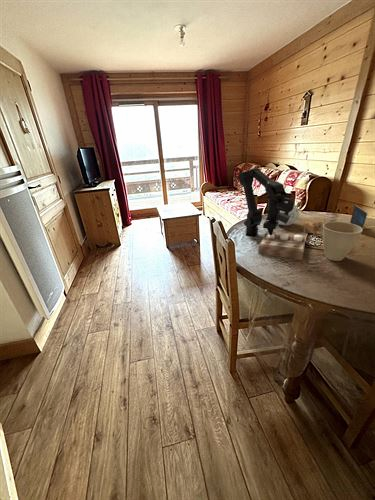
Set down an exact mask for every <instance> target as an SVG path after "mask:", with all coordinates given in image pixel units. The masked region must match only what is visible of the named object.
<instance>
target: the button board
mask: <svg viewBox="0 0 375 500" xmlns="http://www.w3.org/2000/svg"><path fill="white" fill-rule="evenodd" d="M281 233H285V232H282V231H275V230H273V233H272V235H275V239H273V238H266V236H267V235H268V234H269V232H268V230H266V231H265V233H264V235H263V237H262V238H261V241H260V243H259V244H258V252H257V253H258V254H262V255H269V256H274V257H275V256H276V257H281V258H286V259H287V258H288V259H293V260H300V261H303V256H304V252H305V246H306V245H305V244H306V239H307V235H306V234H301V233H293V232H292V233H291V232H286V233H287V234H289V237H288V240H281V239H280V234H281ZM294 235H302V236H303V241H302V242H297V241H293V239H294Z"/></svg>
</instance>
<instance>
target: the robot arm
mask: <svg viewBox="0 0 375 500" xmlns="http://www.w3.org/2000/svg"><path fill="white" fill-rule="evenodd" d="M237 179H238V181H239V182H238V183H239V184H240V186H242V188H243V192H244V196H245V201H246V206H247V210H248V211H247V214H246V220H245V221H243V226H245V227H246V228H245V229H246V230H245V236H248V237H257V235H258V234H259V226H260V225H261V223H262V221H263V214H262V211H261V210H259V209H258V208H257V203H256V198H255V194H254V188H253V183H254V179H255V180H256V182H258V183H259V184H261V185H262V186H263V188H264V189H265V190H264V191H265V192H266V194H267V196H266V197H265V199H266V200H268V205H267V210H266V213H267V215H266V216H267V217H266V221H265V222H263V224H262V228H263V229H267V230H266V231H268V232H269V235H272V233H273V231H275V230H276V229H277V227H278V225H279V222H277V221H278V220H279V221H281V222H284V223H285V224H287V222H288V220H289V219H290V215H289V212H291V211H292V210H293V207H294V205H295V204H294V202H293V200H292V198H291V197H290V198H288V194H287V191H286V190H285V186H284V184H283V183H281V182H279V181H277V180H273V179H271V178H270V177H269V176H268V175H266V174H265V173H264V172H263V171H262V170H261V169H260V168H259V167H254V168H251V169H249V170H246V171H240V172H239V174H238V177H237ZM280 211H283V212H284V213H281V212H280Z"/></svg>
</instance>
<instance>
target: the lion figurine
mask: <svg viewBox="0 0 375 500" xmlns="http://www.w3.org/2000/svg"><path fill="white" fill-rule="evenodd" d="M324 223H326V222H324V220H323V221H319V222H315V223H312V222H310V221H305V222H304V223H303V225H302V227H301V228H299V229H298V230H300V231H301V230H303V234H306V233H307V231H306V230H307V229H309V231H310V230H311V231H312V232H313V233H312V236H313V237H316V236H317V235H318V232H320V231H323V224H324Z"/></svg>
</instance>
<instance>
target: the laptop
mask: <svg viewBox="0 0 375 500" xmlns="http://www.w3.org/2000/svg"><path fill="white" fill-rule="evenodd" d="M353 207H354V208H353V211H352V215H351V218H350V222H349V223H351V224H355V225H357V226H359V227H361V228H362V232H361V234H362V233H363V229H364V226H365V223H366V220H367V217H368V212H367V211H365V210H364V209H363V208H361V207H359V206H358V205H356V204H354V205H353Z"/></svg>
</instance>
